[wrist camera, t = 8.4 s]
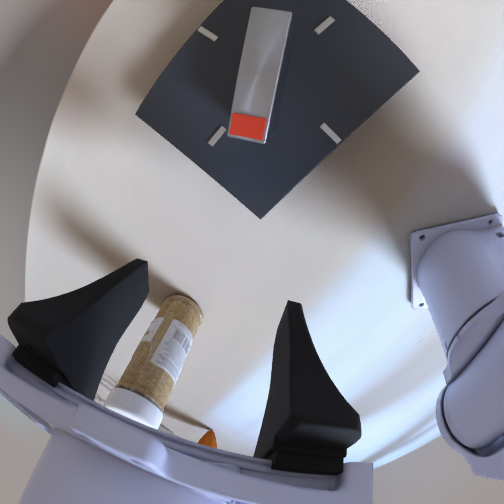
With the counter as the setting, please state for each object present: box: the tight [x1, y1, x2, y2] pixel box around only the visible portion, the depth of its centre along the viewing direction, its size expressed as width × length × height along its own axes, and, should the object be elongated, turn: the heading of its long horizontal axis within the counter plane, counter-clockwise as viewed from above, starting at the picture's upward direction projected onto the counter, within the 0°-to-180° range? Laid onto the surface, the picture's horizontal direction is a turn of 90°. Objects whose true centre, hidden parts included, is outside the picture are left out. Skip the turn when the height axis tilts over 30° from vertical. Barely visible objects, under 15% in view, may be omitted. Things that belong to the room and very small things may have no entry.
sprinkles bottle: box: [104, 295, 203, 430], centre depth 23 cm, size 5×5×14 cm
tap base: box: [135, 0, 419, 219], centre depth 15 cm, size 14×11×3 cm
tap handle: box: [227, 7, 295, 144], centre depth 12 cm, size 6×2×4 cm, turn 170°
